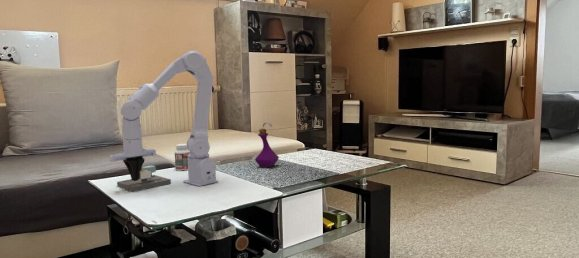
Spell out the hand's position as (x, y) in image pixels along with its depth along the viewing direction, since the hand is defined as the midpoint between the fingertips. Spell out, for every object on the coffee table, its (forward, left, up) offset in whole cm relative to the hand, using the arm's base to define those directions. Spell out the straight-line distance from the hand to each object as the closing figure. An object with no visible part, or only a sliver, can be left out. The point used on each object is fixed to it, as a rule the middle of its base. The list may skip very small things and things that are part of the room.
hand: (135, 180), depth 136 cm
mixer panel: (+3, -4, -3) cm, 6 cm away
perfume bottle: (-7, -52, -3) cm, 52 cm away
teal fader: (+7, -8, -1) cm, 11 cm away
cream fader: (0, -3, -1) cm, 3 cm away
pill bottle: (+15, -27, -3) cm, 31 cm away
